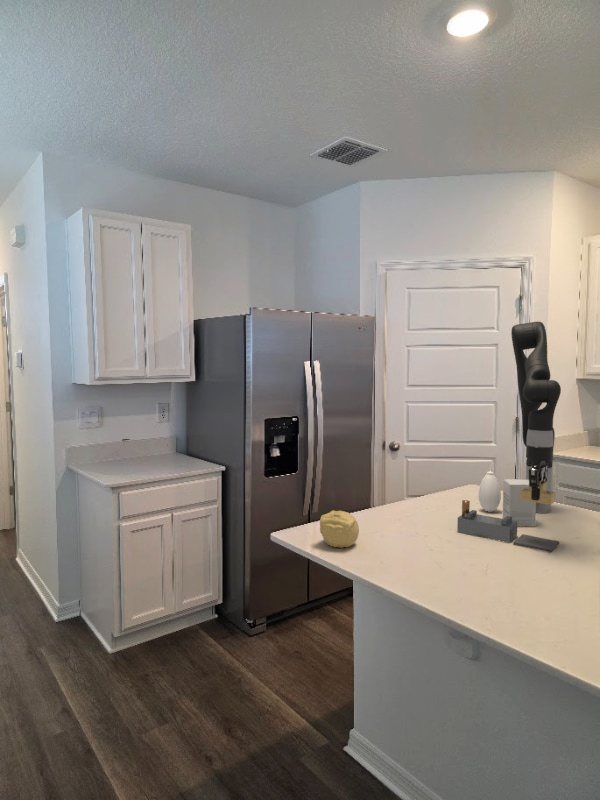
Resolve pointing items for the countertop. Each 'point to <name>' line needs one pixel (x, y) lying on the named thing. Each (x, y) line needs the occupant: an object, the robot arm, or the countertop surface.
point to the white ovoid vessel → (489, 492)
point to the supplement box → (518, 503)
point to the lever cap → (544, 497)
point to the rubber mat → (536, 543)
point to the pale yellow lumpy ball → (339, 529)
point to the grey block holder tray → (486, 525)
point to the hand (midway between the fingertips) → (537, 497)
